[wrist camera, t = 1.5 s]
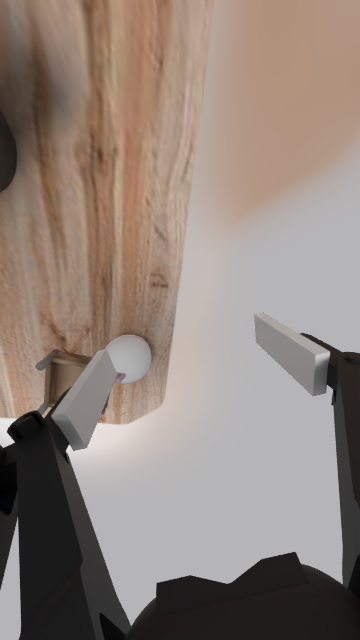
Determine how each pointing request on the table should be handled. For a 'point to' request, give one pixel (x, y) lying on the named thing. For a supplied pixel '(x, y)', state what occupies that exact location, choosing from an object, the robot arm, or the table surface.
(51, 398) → the keeper
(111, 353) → the ornament
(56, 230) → the table surface
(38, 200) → the table surface
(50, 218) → the table surface
